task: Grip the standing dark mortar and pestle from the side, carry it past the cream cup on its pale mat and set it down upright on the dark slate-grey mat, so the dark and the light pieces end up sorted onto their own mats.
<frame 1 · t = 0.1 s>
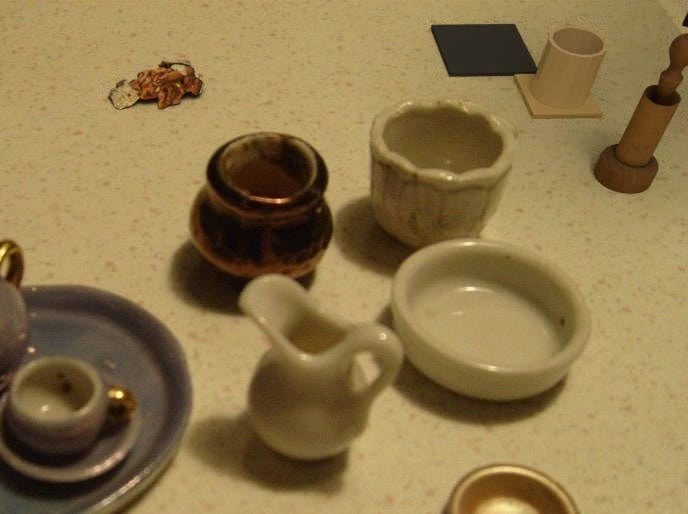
pastry: (156, 95, 111), on the counter
cream cup: (556, 97, 111), resting on cream mat
mortar and pestle: (621, 177, 102), on the counter
slate mat: (482, 51, 118), on the counter
cream mat: (556, 97, 111), on the counter
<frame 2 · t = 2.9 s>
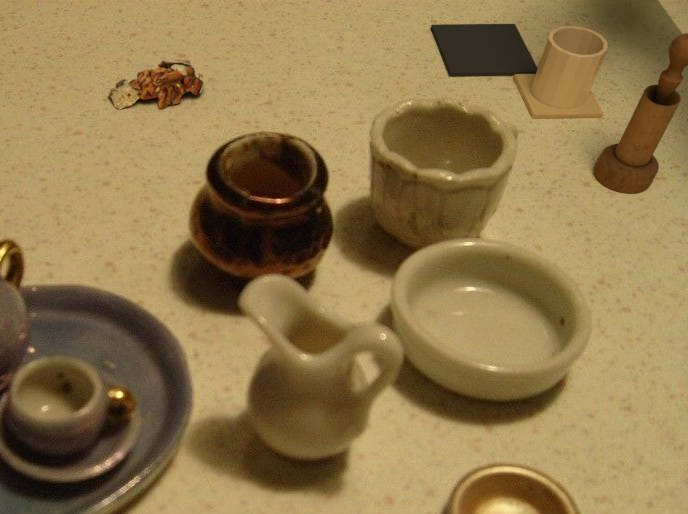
nothing on the counter moved.
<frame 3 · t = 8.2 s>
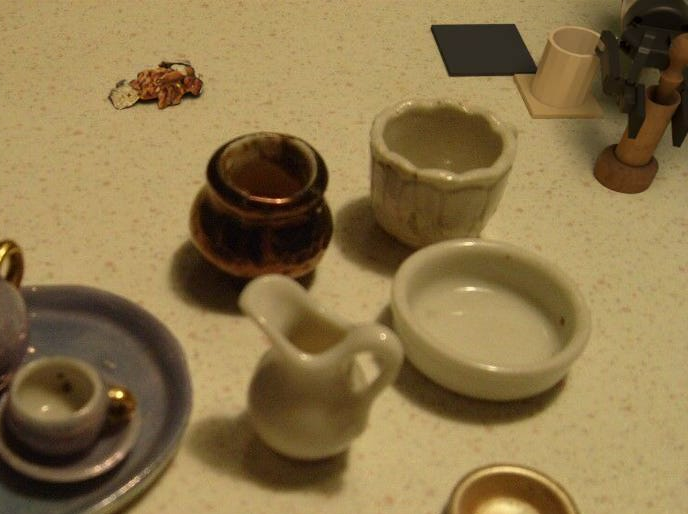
hand: (659, 132, 90), 10 cm above the counter, tool horizontal, fingers closed on mortar and pestle, 4 cm apart
mortar and pestle: (621, 177, 102), on the counter, touching gripper
everything else where it was.
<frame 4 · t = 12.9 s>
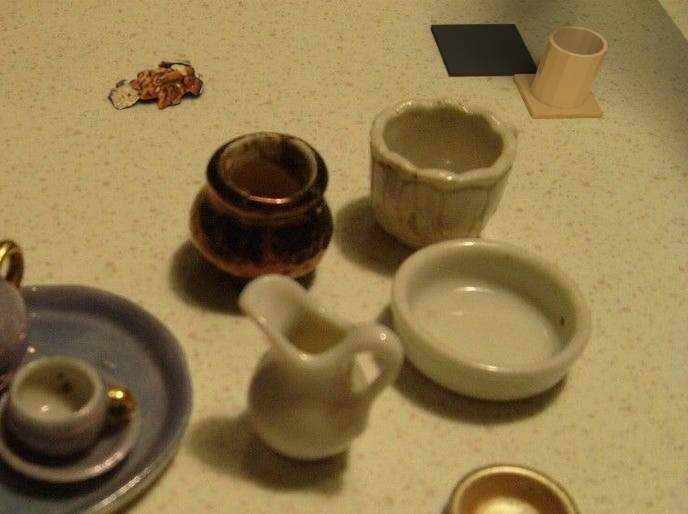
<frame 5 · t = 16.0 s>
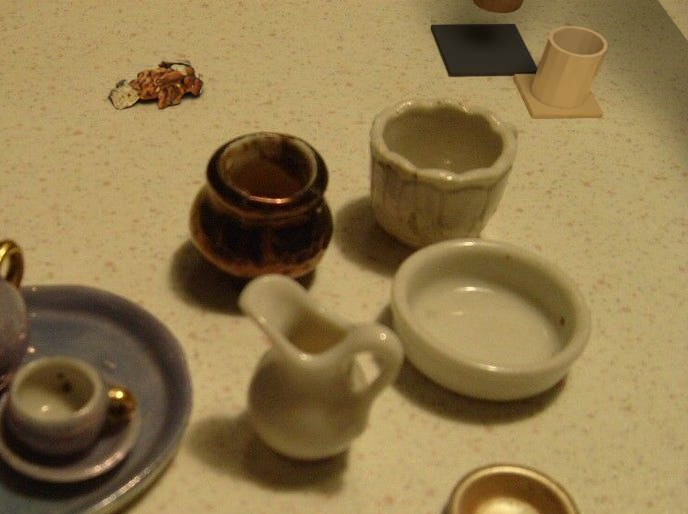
mortar and pestle: (495, 2, 112), point 7 cm above the counter, touching gripper
everything else where it was.
when the fingers open (11 cm above the counter, at t = 18.1 s): mortar and pestle stays where it is, resting on slate mat.
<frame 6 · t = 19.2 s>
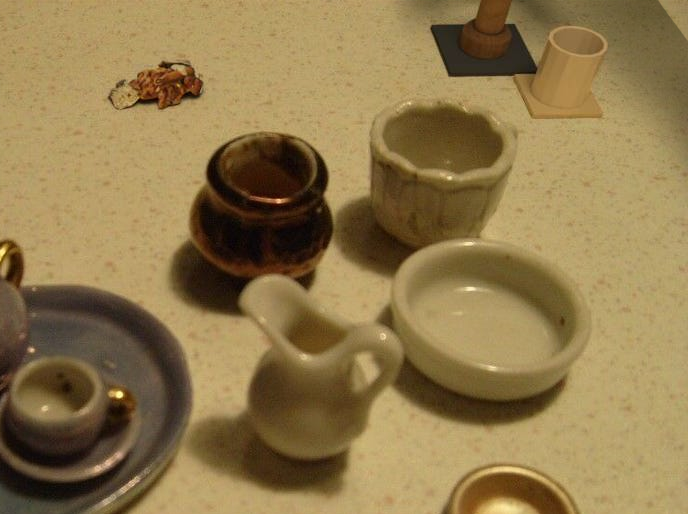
mortar and pestle: (482, 47, 118), resting on slate mat
everything else where it was.
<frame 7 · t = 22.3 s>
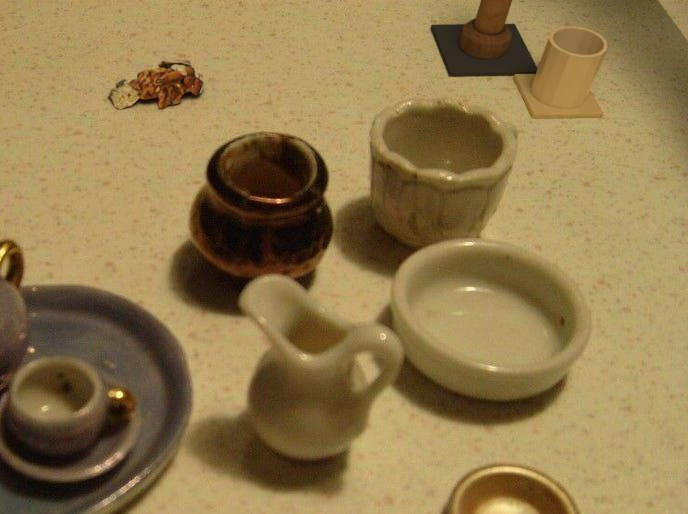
nothing on the counter moved.
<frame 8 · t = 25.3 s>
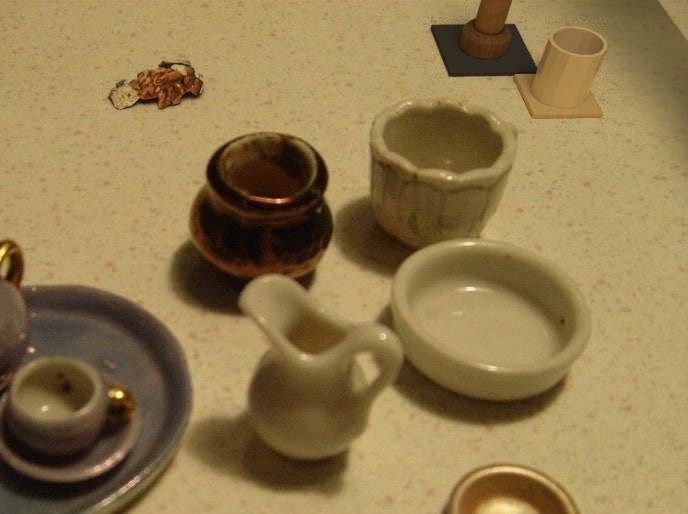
nothing on the counter moved.
at the end: mortar and pestle inside the target area on the slate mat (0.1 cm from its centre), point 0.4 cm above the slate mat's base; mortar and pestle tilted 0°; the gripper is holding nothing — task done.
